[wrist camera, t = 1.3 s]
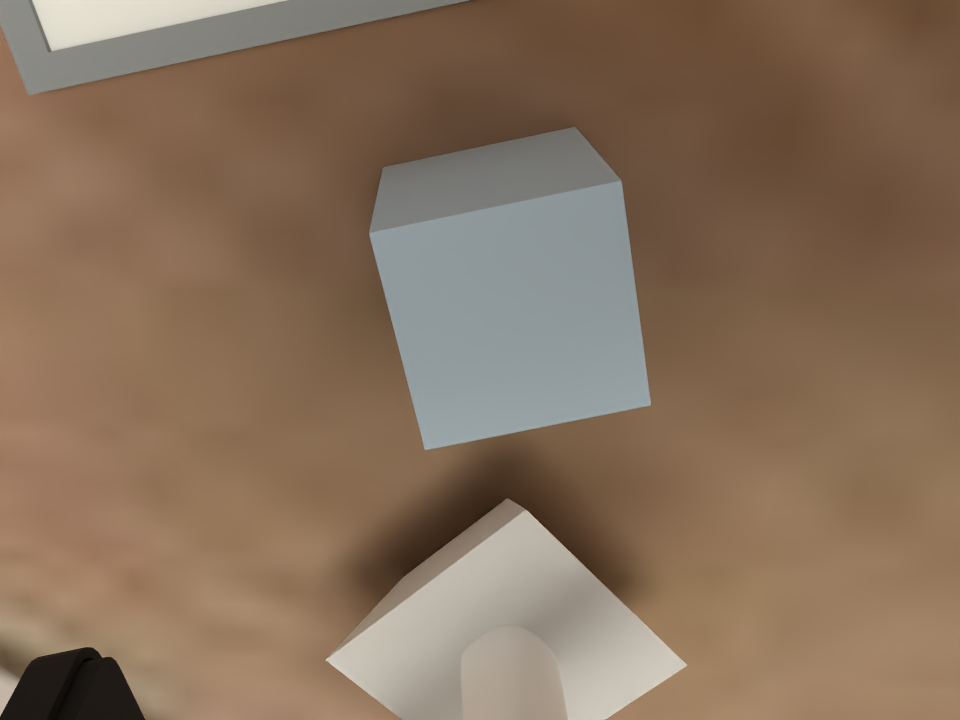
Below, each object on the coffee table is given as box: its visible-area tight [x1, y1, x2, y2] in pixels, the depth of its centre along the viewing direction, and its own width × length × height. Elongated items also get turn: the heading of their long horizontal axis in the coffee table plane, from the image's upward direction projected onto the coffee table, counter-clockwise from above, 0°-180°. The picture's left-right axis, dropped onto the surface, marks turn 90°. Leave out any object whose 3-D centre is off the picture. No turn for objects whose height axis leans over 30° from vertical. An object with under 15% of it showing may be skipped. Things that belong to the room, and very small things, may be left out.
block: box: [369, 127, 651, 450], centre depth 21 cm, size 5×5×6 cm
